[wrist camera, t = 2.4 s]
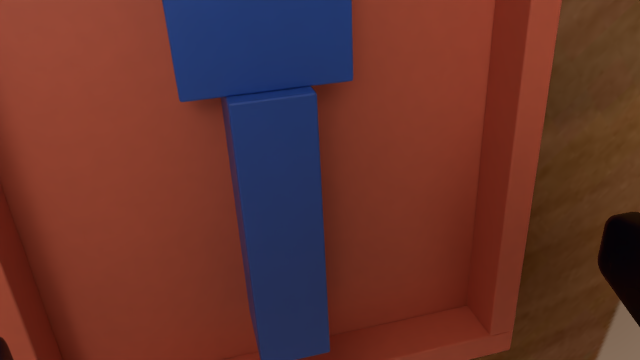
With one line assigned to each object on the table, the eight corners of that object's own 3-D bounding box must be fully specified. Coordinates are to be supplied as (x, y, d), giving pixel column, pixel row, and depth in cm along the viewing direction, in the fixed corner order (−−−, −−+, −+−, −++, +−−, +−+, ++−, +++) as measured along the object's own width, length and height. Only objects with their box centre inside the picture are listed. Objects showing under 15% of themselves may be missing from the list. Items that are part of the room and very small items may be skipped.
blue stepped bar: (340, 293, 16) (363, 345, 14) (218, 318, 16) (226, 376, 14) (323, -132, 11) (356, -139, 9) (142, -125, 11) (138, -131, 9)
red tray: (477, 307, 19) (510, 350, 17) (55, 401, 16) (42, 464, 14) (537, -264, 12) (607, -295, 10) (-199, -269, 9) (-289, -313, 7)
